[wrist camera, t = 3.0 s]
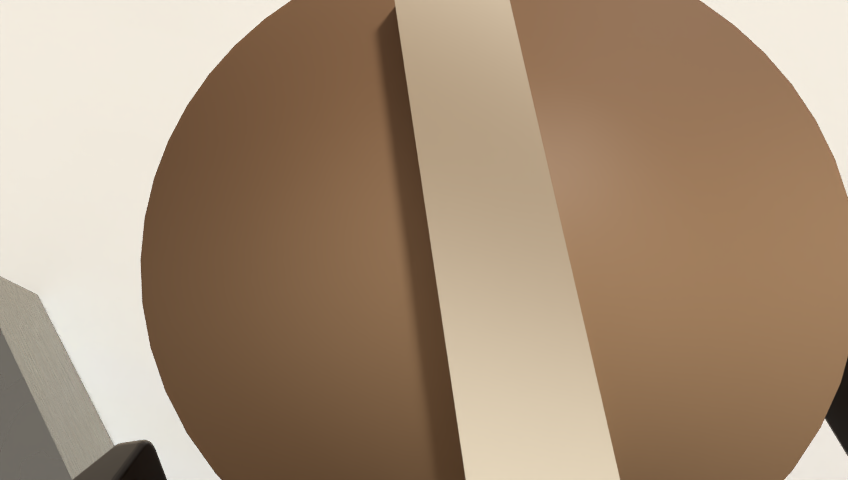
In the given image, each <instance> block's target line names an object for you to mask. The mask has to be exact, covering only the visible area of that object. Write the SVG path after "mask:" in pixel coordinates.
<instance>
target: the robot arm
mask: <svg viewBox="0 0 848 480" xmlns="http://www.w3.org/2000/svg"><path fill="white" fill-rule="evenodd" d="M825 419H826V421H827V423H828V424H829V426H830V428H831V429H832V431H833V433H834V434H835V436H836V437H837V439H838V441H839V442H840V444H841V446H842V447H843V449H844V451H845V452H846V454H847V456H848V358H847V361H846V365H845V369H844V372H843V376H842V380H841V383H840V385H839V387H838V390H837V392H836V394H835V396H834V399H833V401H832V403H831V405H830V408H829V410H828V412H827V414H826V416H825ZM72 480H167V479H166V476H165V474H164V471H163V468H162V466H161V463H160V460H159V458H158V455H157V452H156V450H155V448H154V446H153V444H152V443H151V442H150V441H147V440H139V441H132V442H125V443H120V444H117V445H115V446H114V447H113V448H111V449H110V450H109V451H108V452H106V453H105V454H104V455H102V456H101V457H100V458H99V459H97V460H96V461H95V462H94V463H92V464H91V465H90V466H89V467H87V468H86V469H85V470H84V471H82V472H81V473H80V474H79V475H77V476H76V477H75V478H74V479H72Z"/></svg>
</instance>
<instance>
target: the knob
mask: <svg viewBox="0 0 848 480" xmlns="http://www.w3.org/2000/svg"><path fill="white" fill-rule="evenodd" d="M141 280H142V303H143V309H144V314H145V320H146V325H147V330H148V336H149V341H150V346H151V350H152V353H153V356H154V359H155V362H156V364H157V367H158V370H159V373H160V376H161V379H162V382H163V385H164V388H165V391H166V393H167V395H168V397H169V399H170V401H171V403H172V405H173V407H174V408H175V410H176V412H177V414H178V416H179V418H180V420H181V422H182V424H183V426H184V428H185V430H186V432H187V434H188V435H189V437H190V438H191V439H192V441H193V442H194V444H195V445H196V446H197V448H198V449H199V451H200V452H201V453H202V455H203V456H204V458H205V459H206V460H207V462H208V463H209V465H210V466H211V467H212V469H213V470H214V472H215V473H216V474H217V475H218V476H219V477H220V478H221V479H222V480H784V479H785V478H786V477H787V476H788V475H789V474H790V472H791V471H792V470H793V469H794V467H795V466H796V464H797V463H798V461H799V460H800V458H801V457H802V455H803V454H804V452H805V450H806V449H807V447H808V446H809V444H810V443H811V441H812V440H813V438H814V437H815V435H816V434H817V432H818V431H819V429H820V428H821V425H822V423H823V421H824V419H825V416H826V414H827V412H828V410H829V408H830V405H831V403H832V401H833V399H834V396H835V394H836V392H837V390H838V387H839V385H840V383H841V380H842V376H843V372H844V369H845V365H846V361H847V358H848V197H847V194H846V191H845V188H844V185H843V182H842V179H841V176H840V173H839V170H838V167H837V164H836V161H835V158H834V156H833V154H832V152H831V150H830V148H829V146H828V144H827V142H826V140H825V138H824V136H823V134H822V132H821V130H820V128H819V126H818V124H817V122H816V120H815V118H814V117H813V115H812V114H811V112H810V111H809V109H808V108H807V106H806V105H805V104H804V102H803V100H802V99H801V98H800V96H799V95H798V93H797V92H796V90H795V89H794V87H793V86H792V84H791V83H790V82H789V81H788V80H787V78H786V77H785V76H784V75H783V74H782V73H781V71H780V70H779V69H778V68H777V67H776V66H775V64H774V63H773V62H772V61H771V60H770V59H769V58H768V56H767V55H766V54H765V53H764V52H763V51H762V50H761V49H760V48H759V47H757V46H756V45H755V44H754V43H753V42H752V41H751V40H750V39H749V38H748V37H746V36H745V35H744V34H743V33H742V32H741V31H740V30H739V29H738V28H737V27H736V26H734V25H733V24H732V23H730V22H729V21H728V20H726V19H725V18H723V17H722V16H721V15H719V14H718V13H717V12H715V11H714V10H712V9H711V8H710V7H708V6H707V5H705V4H704V3H703V2H701V1H700V0H291V1H290V2H288V3H287V4H285V5H284V6H283V7H281V8H280V9H278V10H277V11H276V12H274V13H273V14H271V15H270V16H268V17H267V18H266V19H264V20H263V21H262V22H261V23H260V24H259V25H257V26H256V27H255V28H254V29H253V30H252V31H251V32H250V33H248V34H247V35H246V36H245V37H244V38H243V39H242V40H241V41H239V42H238V43H237V44H236V45H235V46H234V47H233V48H232V49H231V50H230V52H229V53H228V54H227V55H226V56H225V57H224V58H223V59H222V61H221V62H220V63H219V64H218V65H217V66H216V67H215V68H214V69H213V71H212V72H211V73H210V74H209V75H208V77H207V78H206V80H205V81H204V82H203V84H202V85H201V87H200V88H199V90H198V91H197V92H196V94H195V95H194V97H193V98H192V100H191V101H190V102H189V104H188V105H187V107H186V109H185V111H184V112H183V114H182V116H181V118H180V120H179V122H178V124H177V126H176V128H175V129H174V131H173V133H172V135H171V137H170V139H169V141H168V143H167V146H166V148H165V151H164V154H163V156H162V159H161V162H160V164H159V167H158V170H157V172H156V175H155V178H154V181H153V185H152V190H151V194H150V198H149V202H148V207H147V211H146V215H145V220H144V231H143V241H142V252H141Z"/></svg>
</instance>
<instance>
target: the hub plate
mask: <svg viewBox="0 0 848 480" xmlns="http://www.w3.org/2000/svg"><path fill="white" fill-rule="evenodd" d="M113 447H114V445H113V443H112V441H111V439H110V437H109V435H108V433H107V431H106V429H105V427H104V425H103V423H102V421H101V419H100V417H99V415H98V413H97V411H96V409H95V407H94V405H93V403H92V401H91V399H90V397H89V395H88V393H87V391H86V389H85V387H84V385H83V383H82V381H81V380H80V378H79V376H78V374H77V372H76V370H75V368H74V366H73V364H72V362H71V360H70V358H69V356H68V354H67V352H66V350H65V348H64V346H63V344H62V342H61V340H60V338H59V336H58V334H57V332H56V330H55V328H54V326H53V324H52V322H51V320H50V318H49V316H48V314H47V313H46V311H45V309H44V307H43V305H42V303H41V301H40V299H39V297H38V295H37V294H35V293H33V292H31V291H29V290H27V289H25V288H23V287H21V286H19V285H17V284H15V283H13V282H11V281H9V280H7V279H5V278H3V277H1V276H0V480H72V479H74V478H75V477H76V476H77V475H79V474H80V473H81V472H82V471H84V470H85V469H86V468H87V467H89V466H90V465H91V464H92V463H94V462H95V461H96V460H97V459H99V458H100V457H101V456H102V455H104V454H105V453H106V452H108V451H109V450H110V449H111V448H113Z"/></svg>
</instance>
